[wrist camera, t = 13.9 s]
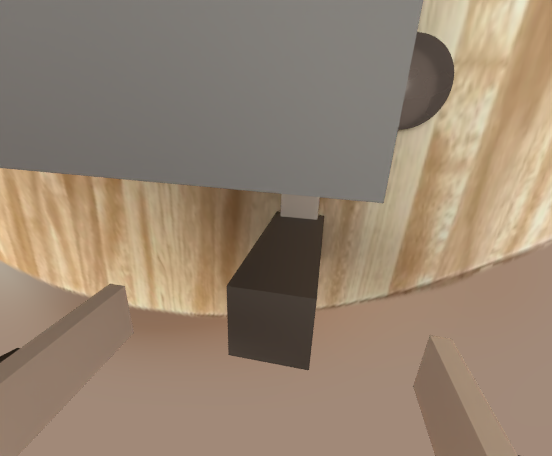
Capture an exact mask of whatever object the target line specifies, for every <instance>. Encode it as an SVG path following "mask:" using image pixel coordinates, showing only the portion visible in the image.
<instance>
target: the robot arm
mask: <svg viewBox="0 0 552 456" xmlns="http://www.w3.org/2000/svg"><path fill="white" fill-rule="evenodd" d="M133 333H134V332H133V327H132V321H131V316H130V311H129V306H128V301H127V296H126V290H125V286H121V285H115V284H109V285H108V286H106V287H105V288H103V289H102V290H101V291H99V292H98V293H96V294H95V295H94V296H92V297H91V298H90V299H88V300H87V301H85V302H84V303H83V304H81V305H80V306H79V307H77V308H76V309H74V310H73V311H72V312H70V313H69V314H67V315H66V316H65V317H63V318H62V319H60V320H59V321H58V322H56V323H55V324H53V325H52V326H51V327H49V328H48V329H46V330H45V331H44V332H42V333H41V334H40V335H38V336H37V337H35V338H34V339H33V340H31V341H30V342H28V343H27V344H26V345H24V346H23V347H22V348H16V349H14V350H12V351H10V352H8V353H6V354H4V355H2V356H0V456H18V455H19V454H20V453H21V452H22V451H23V450H24V449H25V448H26V446H27V445H28V444H29V443H30V442H31V441H32V440H33V439H34V438H35V437H36V436H37V435H38V434H39V433H40V432H41V431H42V430H43V428H44V427H45V426H46V425H47V424H48V423H49V422H50V421H51V420H52V419H53V418H54V417H55V416H56V415H57V414H58V413H59V412H60V411H61V409H62V408H63V407H64V406H65V405H66V404H67V403H68V402H69V401H70V400H71V399H72V398H73V397H74V396H75V395H76V394H77V392H78V391H79V390H80V389H81V388H82V387H83V386H84V385H85V384H86V383H87V382H88V381H89V380H90V379H91V378H92V377H93V376H94V374H95V373H96V372H97V371H98V370H99V369H100V368H101V367H102V366H103V365H104V364H105V363H106V362H107V361H108V360H109V359H110V358H111V357H112V355H113V354H114V353H115V352H116V351H117V350H118V349H119V348H120V347H121V346H122V345H123V343H125V342H126V341H127V340H128V339H129V337H130V336H131V335H132V334H133ZM413 387H414V390H415V393H416V396H417V400H418V403H419V406H420V409H421V412H422V415H423V419H424V422H425V425H426V428H427V432H428V434H429V438H430V441H431V444H432V447H433V450H434V454H435V456H519V455H517V454H516V451H515V450H514V448H513V446H512V445H511V443H510V441H509V439H508V437H507V436H506V434H505V432H504V430H503V428H502V427H501V425H500V423H499V421H498V420H497V418H496V416H495V414H494V413H493V411H492V409H491V408H490V406H489V404H488V403H487V400H486V398H485V397H484V395H483V393H482V391H481V390H480V388H479V386H478V384H477V383H476V381H475V379H474V377H473V376H472V374H471V372H470V370H469V369H468V367H467V365H466V363H465V361H464V360H463V358H462V356H461V354H460V353H459V351H458V349H457V347H456V346H455V344H454V342H453V340H452V339H450V338H444V337H438V336H432V335H430V337H429V340H428V343H427V346H426V349H425V352H424V355H423V358H422V361H421V364H420V367H419V370H418V373H417V376H416V379H415V382H414V385H413Z"/></svg>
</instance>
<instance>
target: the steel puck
mask: <svg viewBox="0 0 552 456" xmlns="http://www.w3.org/2000/svg"><path fill="white" fill-rule="evenodd" d="M453 80H454V65H453V60H452V57H451V54H450V52H449V51H448V49H447V47H446V46H445V45H444V44H443V43H442V42H441V41H440V40H439V39H437V38H436V37H434V36H432V35H429V34H426V33H419V32H417V35H416V40H415V45H414V50H413V55H412V60H411V65H410V70H409V76H408V81H407V86H406V91H405V96H404V101H403V106H402V111H401V116H400V122H399V127H398V129H408V128H412V127H415V126H417V125H420V124H422V123H424V122H425V121H427V120H428V119H430V118H431V117H432V116H433V115H435V114H436V113H437V112H438V110H439V109H440V108H441V107H442V106H443V104H444V103H445V101H446V99H447V98H448V96H449V93H450V91H451V88H452V85H453Z"/></svg>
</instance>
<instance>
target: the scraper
mask: <svg viewBox="0 0 552 456" xmlns="http://www.w3.org/2000/svg"><path fill="white" fill-rule="evenodd" d="M319 200H320V197H312V196H301V195H290V194H281V212H277V213H276V214H275V215H274V217H273V218H272V220H271V221H270V223H269V224H268V226H267V227H266V229H265V230H264V232H263V233H262V235H261V236H260V238H259V239H258V241H257V242H256V244H255V245H254V246H253V248H252V249H251V251H250V252H249V254H248V255H247V257H246V258H245V260H244V261H243V263H242V264H241V266H240V267H239V269H238V270H237V272H236V273H235V275H234V276H233V277H232V279H231V280H230V282H229V283H228V285H227V314H228V345H229V346H228V347H229V348H228V349H229V355H232V356H237V357H242V358H247V359H253V360H258V361H263V362H268V363H273V364H279V365H284V366H290V367H294V368H299V369H305V370H309V363H310V355H311V346H312V336H313V327H314V318H315V309H316V300H317V289H318V278H319V267H320V255H321V244H322V233H323V222H324V216H318V210H319Z"/></svg>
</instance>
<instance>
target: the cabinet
mask: <svg viewBox="0 0 552 456" xmlns="http://www.w3.org/2000/svg"><path fill="white" fill-rule="evenodd" d="M422 4H423V0H0V168H7V169H18V170H29V171H40V172H51V173H62V174H72V175H83V176H94V177H105V178H116V179H127V180H138V181H149V182H159V183H170V184H181V185H192V186H203V187H214V188H225V189H235V190H246V191H257V192H268V193H279V194H290V195H301V196H312V197H322V198H333V199H344V200H355V201H366V202H377V203H384V198H385V193H386V188H387V183H388V178H389V173H390V168H391V163H392V157H393V152H394V147H395V142H396V137H397V132H398V127H399V122H400V116H401V111H402V106H403V101H404V96H405V91H406V86H407V81H408V76H409V70H410V65H411V60H412V55H413V50H414V45H415V40H416V35H417V29H418V24H419V19H420V14H421V9H422Z"/></svg>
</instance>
